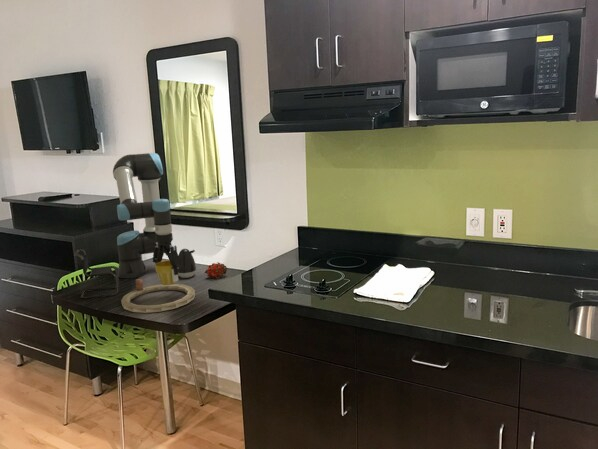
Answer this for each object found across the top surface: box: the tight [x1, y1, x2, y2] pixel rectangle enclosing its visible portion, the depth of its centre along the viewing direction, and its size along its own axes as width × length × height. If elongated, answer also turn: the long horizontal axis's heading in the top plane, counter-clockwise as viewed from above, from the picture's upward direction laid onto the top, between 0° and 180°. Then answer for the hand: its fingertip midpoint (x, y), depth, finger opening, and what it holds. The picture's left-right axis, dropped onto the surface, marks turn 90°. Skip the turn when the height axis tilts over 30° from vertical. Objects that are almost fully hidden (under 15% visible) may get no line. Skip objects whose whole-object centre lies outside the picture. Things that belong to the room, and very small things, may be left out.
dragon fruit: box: [204, 262, 228, 279], centre depth 254 cm, size 8×8×12 cm
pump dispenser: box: [178, 248, 197, 279], centre depth 257 cm, size 10×10×15 cm
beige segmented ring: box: [120, 278, 196, 314], centre depth 224 cm, size 32×32×7 cm
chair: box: [73, 248, 120, 300], centre depth 235 cm, size 13×17×22 cm
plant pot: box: [154, 259, 177, 285], centre depth 227 cm, size 10×10×10 cm
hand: (168, 279), depth 228 cm, fingers closed on plant pot, 10 cm apart
